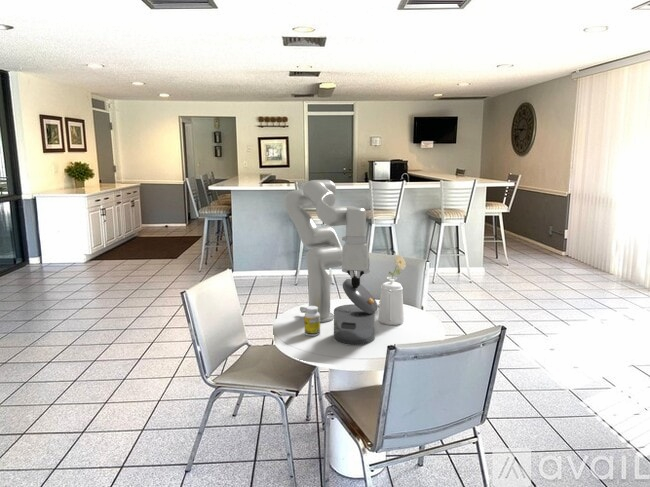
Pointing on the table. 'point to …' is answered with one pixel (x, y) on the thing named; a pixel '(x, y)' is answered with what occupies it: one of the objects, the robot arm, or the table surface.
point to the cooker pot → (353, 325)
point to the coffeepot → (391, 303)
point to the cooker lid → (360, 297)
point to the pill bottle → (312, 321)
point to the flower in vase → (400, 264)
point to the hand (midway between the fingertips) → (355, 287)
